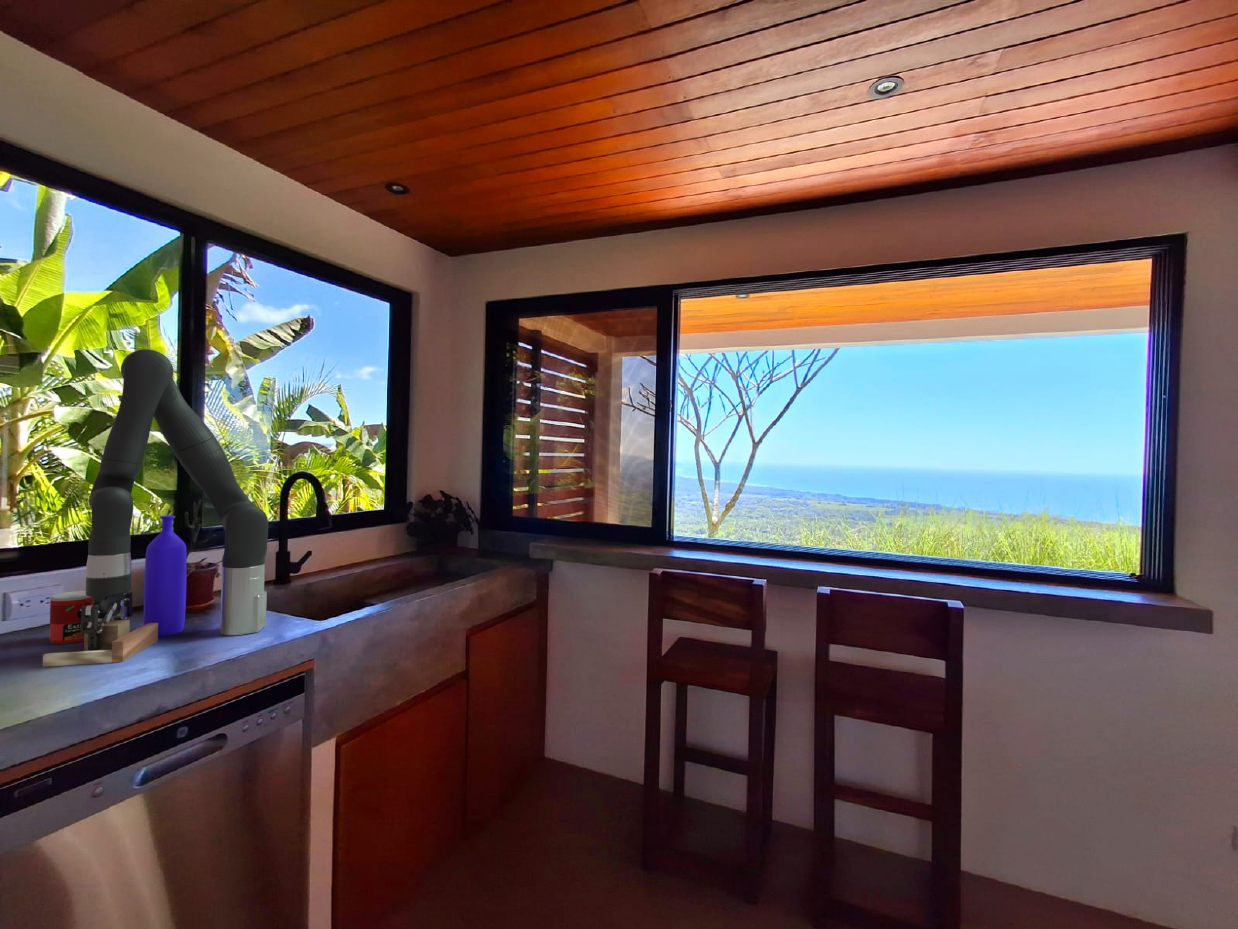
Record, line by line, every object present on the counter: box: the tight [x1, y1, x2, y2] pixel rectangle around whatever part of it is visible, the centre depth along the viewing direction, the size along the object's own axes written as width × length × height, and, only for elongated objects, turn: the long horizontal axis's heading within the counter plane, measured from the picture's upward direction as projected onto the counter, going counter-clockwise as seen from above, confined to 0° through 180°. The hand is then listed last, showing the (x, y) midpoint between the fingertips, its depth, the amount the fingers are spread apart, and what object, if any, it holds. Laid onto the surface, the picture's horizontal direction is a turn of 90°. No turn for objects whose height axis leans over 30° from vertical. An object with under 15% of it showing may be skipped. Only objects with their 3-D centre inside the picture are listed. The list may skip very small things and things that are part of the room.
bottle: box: [143, 515, 188, 638], centre depth 138 cm, size 8×8×30 cm
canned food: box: [49, 590, 93, 645], centre depth 131 cm, size 8×8×11 cm
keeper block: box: [83, 619, 131, 651], centre depth 123 cm, size 6×4×7 cm
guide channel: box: [42, 623, 159, 668], centre depth 123 cm, size 14×14×4 cm
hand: (107, 644), depth 123 cm, fingers open, 8 cm apart
